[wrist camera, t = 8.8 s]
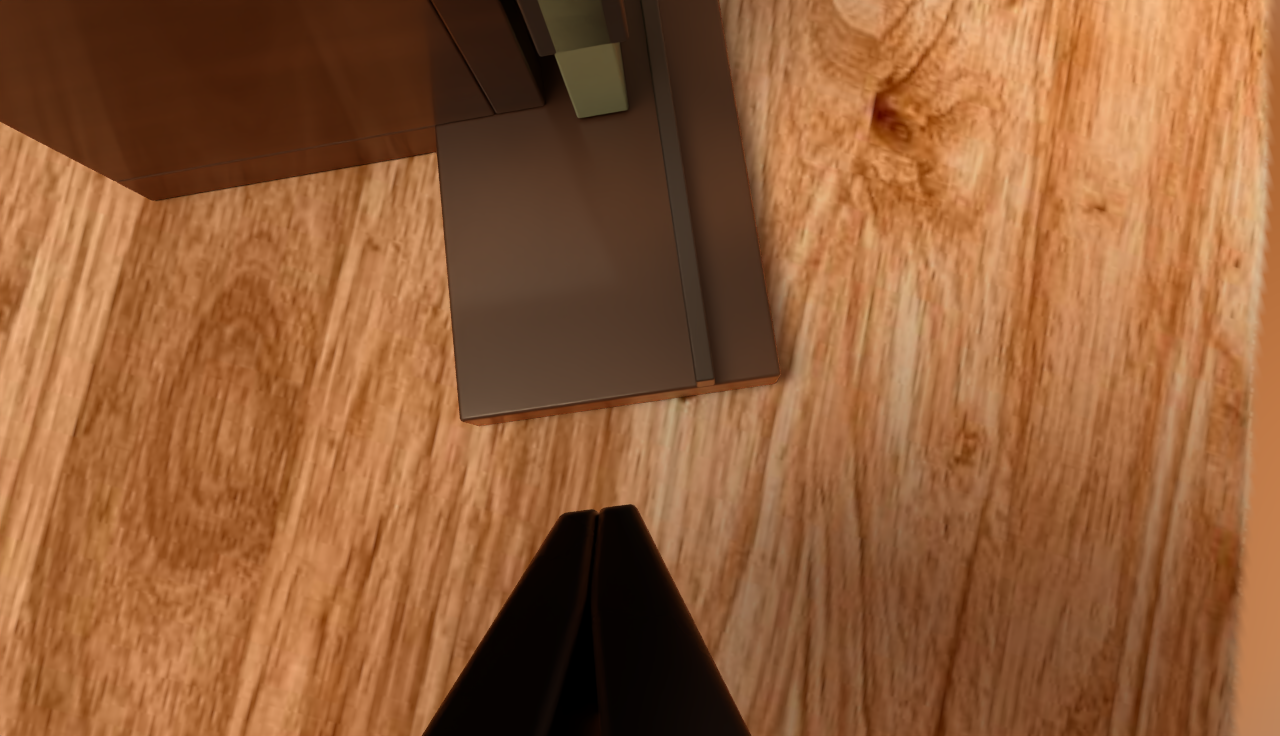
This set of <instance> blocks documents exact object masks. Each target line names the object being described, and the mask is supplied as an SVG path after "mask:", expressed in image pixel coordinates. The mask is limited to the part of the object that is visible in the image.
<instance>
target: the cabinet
mask: <svg viewBox="0 0 1280 736" xmlns="http://www.w3.org/2000/svg"><path fill="white" fill-rule="evenodd" d="M624 5H625V11H626V18H627V25H628V32H629V38H628V40H627V41H625V42H620V47H621V54H622V61H623V68H624V76H625V83H626V90H627V97H628V105H629V108H628V110H625V111H619V112H613V113H607V114H602V115H596V116H590V117H584V118H578V117H577V115H576V112H575V110H574V107H573V104H572V101H571V99H570V96H569V93H568V91H567V88H566V85H565V82H564V80H563V77H562V74H561V71H560V69H559V66H558V63H557V61H556V58H555V55H554V54H553V55H547V56H539V54H538V52H537V50H536V48H535V45H534V43H533V40H532V38H531V35H530V33H529V30H528V28H527V25H526V23H525V20H524V18H523V15H522V13H521V10H520V8H519V5H518V3H517V0H0V122H2V123H4V124H6V125H8V126H10V127H11V128H13V129H15V130H17V131H19V132H21V133H23V134H25V135H27V136H29V137H31V138H33V139H35V140H36V141H38V142H40V143H42V144H44V145H46V146H48V147H50V148H52V149H54V150H56V151H58V152H60V153H62V154H63V155H65V156H67V157H69V158H71V159H73V160H75V161H77V162H79V163H81V164H83V165H85V166H87V167H88V168H90V169H92V170H94V171H96V172H98V173H100V174H102V175H104V176H106V177H108V178H110V179H112V180H113V181H117V183H119V184H121V185H123V186H125V187H127V188H129V189H131V190H133V191H135V192H137V193H138V194H140V195H142V196H144V197H146V198H148V199H150V200H159V199H165V198H171V197H177V196H182V195H188V194H194V193H200V192H205V191H211V190H217V189H223V188H229V187H234V186H240V185H246V184H252V183H258V182H263V181H269V180H275V179H281V178H286V177H292V176H298V175H304V174H310V173H315V172H321V171H327V170H333V169H339V168H344V167H350V166H356V165H362V164H367V163H373V162H379V161H385V160H391V159H396V158H402V157H408V156H414V155H419V154H425V153H431V152H437V159H438V170H439V182H440V194H441V205H442V217H443V228H444V240H445V252H446V263H447V275H448V286H449V298H450V310H451V321H452V333H453V344H454V356H455V368H456V379H457V391H458V403H459V414H460V420H461V421H463V422H466V423H470V424H473V425H477V426H482V425H489V424H496V423H503V422H510V421H517V420H524V419H531V418H538V417H546V416H553V415H560V414H567V413H574V412H581V411H588V410H595V409H602V408H609V407H616V406H623V405H630V404H637V403H644V402H651V401H658V400H665V399H672V398H679V397H686V396H693V395H700V394H707V393H714V392H721V391H728V390H735V389H742V388H749V387H756V386H763V385H770V384H774V383H776V382H777V380H778V378H779V376H780V374H781V371H780V365H779V359H778V353H777V347H776V341H775V335H774V329H773V323H772V317H771V311H770V305H769V299H768V293H767V287H766V281H765V275H764V269H763V263H762V257H761V251H760V245H759V239H758V233H757V227H756V221H755V215H754V209H753V203H752V197H751V191H750V185H749V179H748V173H747V167H746V161H745V155H744V149H743V143H742V137H741V131H740V125H739V119H738V113H737V107H736V101H735V95H734V89H733V83H732V77H731V71H730V65H729V59H728V53H727V47H726V41H725V35H724V29H723V23H722V18H721V12H720V6H719V0H624Z"/></svg>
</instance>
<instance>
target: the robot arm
mask: <svg viewBox="0 0 1280 736" xmlns="http://www.w3.org/2000/svg"><path fill="white" fill-rule="evenodd" d="M422 736H751V734H750V732H749V730H748V728H747V726H746V724H745V722H744V720H743V718H742V716H741V714H740V712H739V710H738V708H737V706H736V704H735V702H734V700H733V698H732V696H731V694H730V692H729V690H728V688H727V686H726V684H725V682H724V680H723V678H722V676H721V674H720V673H719V671H718V669H717V667H716V665H715V663H714V661H713V659H712V657H711V655H710V653H709V651H708V649H707V647H706V645H705V643H704V641H703V639H702V637H701V635H700V633H699V631H698V629H697V627H696V625H695V623H694V621H693V619H692V617H691V615H690V613H689V611H688V609H687V607H686V605H685V603H684V601H683V599H682V597H681V595H680V593H679V591H678V589H677V587H676V585H675V583H674V581H673V579H672V577H671V575H670V573H669V571H668V569H667V567H666V565H665V563H664V561H663V559H662V557H661V555H660V553H659V551H658V549H657V547H656V545H655V543H654V541H653V539H652V537H651V535H650V533H649V531H648V529H647V527H646V525H645V523H644V521H643V519H642V517H641V515H640V513H639V511H638V509H637V508H636V507H635V506H634V505H632V504H629V505H621V506H613V507H606V508H603V509H601V510H600V512H599V513H598V512H597V511H595V510H593V509H591V510H583V511H576V512H568V513H564V514H563V515H561V516H560V517H559V518H558V520H557V521H556V523H555V525H554V526H553V528H552V529H551V531H550V533H549V534H548V536H547V537H546V539H545V540H544V542H543V544H542V545H541V547H540V548H539V550H538V552H537V553H536V555H535V556H534V558H533V560H532V561H531V563H530V564H529V566H528V568H527V569H526V571H525V572H524V574H523V575H522V577H521V579H520V580H519V582H518V583H517V585H516V587H515V588H514V590H513V591H512V593H511V595H510V596H509V598H508V599H507V601H506V603H505V604H504V606H503V607H502V609H501V611H500V612H499V614H498V615H497V617H496V618H495V620H494V622H493V623H492V625H491V626H490V628H489V630H488V631H487V633H486V634H485V636H484V638H483V639H482V641H481V642H480V644H479V646H478V647H477V649H476V650H475V652H474V654H473V655H472V657H471V658H470V660H469V661H468V663H467V665H466V666H465V668H464V669H463V671H462V673H461V674H460V676H459V677H458V679H457V681H456V682H455V684H454V685H453V687H452V689H451V690H450V692H449V693H448V695H447V696H446V698H445V700H444V701H443V703H442V704H441V706H440V708H439V709H438V711H437V712H436V714H435V716H434V717H433V719H432V720H431V722H430V724H429V725H428V727H427V728H426V730H425V732H424V733H423V735H422Z"/></svg>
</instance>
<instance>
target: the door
mask: <svg viewBox="0 0 1280 736" xmlns="http://www.w3.org/2000/svg"><path fill="white" fill-rule="evenodd" d="M517 3H518V5H519V8H520V10H521V13H522V15H523V18H524V20H525V23H526V25H527V28H528V30H529V33H530V35H531V38H532V40H533V43H534V45H535V48H536V50H537V52H538V54H539V56H547V55H553V54H554V55H555V58H556V61H557V63H558V66H559V69H560V71H561V74H562V77H563V80H564V82H565V85H566V88H567V91H568V93H569V96H570V99H571V101H572V104H573V107H574V110H575V112H576V115H577V117H578V118H584V117H590V116H596V115H602V114H607V113H613V112H619V111H625V110H628V108H629V105H628V97H627V90H626V83H625V76H624V68H623V61H622V54H621V47H620V42H625V41H627V40H628V38H629V32H628V25H627V18H626V11H625V5H624V0H517Z"/></svg>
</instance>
